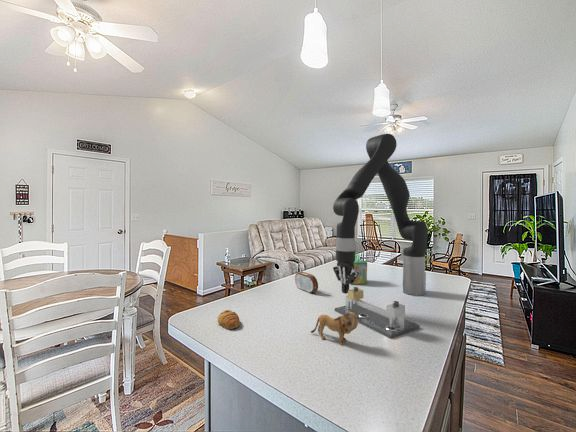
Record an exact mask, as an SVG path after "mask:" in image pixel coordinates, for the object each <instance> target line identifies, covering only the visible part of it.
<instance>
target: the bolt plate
mask: <svg viewBox="0 0 576 432" xmlns="http://www.w3.org/2000/svg"><path fill="white" fill-rule="evenodd" d="M334 312H336V313H338V314H340V315H341V316H342V315H344V314H346V313H348V312H353V313H354V314H356V315H357V320H358V324H360V325H362V326H365V327H366V328H369V329H371V330H373V331H374V332H377V333H378V334H380V335H383V336H385V337H387V338H388V339H393V338H396V337H398V336H402V335H405V334H407V333H410V332H414V331H415V330H418V329H420V328H421V327H420V324H417V323H415V322H413V321H410V320H408V319H405V318H404V330H401V331H400V330H398V329H397V328H396V321H394V320H393V327H390V326H389V325H390V318H387V317H385V316H383V315H380V314H378V313H375V312H373V311H371V310H368V309H366V308H364V307H361V306H359V305H356V304H354V303H353V309H350V307H347V306H346V305H343V306H338V307H334Z"/></svg>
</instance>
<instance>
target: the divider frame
mask: <svg viewBox="0 0 576 432" xmlns="http://www.w3.org/2000/svg"><path fill="white" fill-rule="evenodd" d="M353 304H356V305H359V306H361V307H364V308H366V309H368V310H371V311H373V312H375V313H378V314H380V315H383V316H385V317H387V318H390V325H389V326H390V327H393V320H394V321H396V328H397V329H398V330H400V331H401V330H404V319H405V317H404V316H405V315H406V305H404V304H401V303H400V302H399V301H398V300H392V303H391V304H388V305H386V309H385V308H382V307H379V306H378V305H375V304H372V303H370V302H366V301H364V300H362V299H357V300H353ZM345 306H347V307H350V299H349V298H348V295H345Z"/></svg>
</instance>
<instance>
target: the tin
mask: <svg viewBox="0 0 576 432" xmlns="http://www.w3.org/2000/svg"><path fill="white" fill-rule="evenodd" d="M294 280H295V281H294V283H295V285H296V287H297V289H299V290H301V291H304V292H306V293H308V294H313V293H316V292H317V291H318V290H319V283H318V279H317V277H316V276H315V275H314V274H311V273H308V272H306V271H302V270H301V271H299V272H297V273H295V275H294Z"/></svg>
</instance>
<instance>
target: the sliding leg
mask: <svg viewBox="0 0 576 432" xmlns="http://www.w3.org/2000/svg"><path fill="white" fill-rule="evenodd" d="M347 296H348V298H349V299H350V309H353V304H354V303H353V300H357V299H360V300H362V299H364V289H360V288H359V287H358V286H353V288H352V289H349V290H348V293H347Z"/></svg>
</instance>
